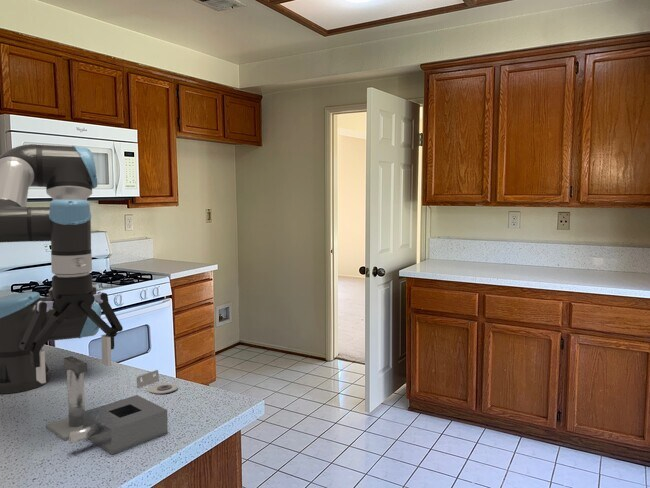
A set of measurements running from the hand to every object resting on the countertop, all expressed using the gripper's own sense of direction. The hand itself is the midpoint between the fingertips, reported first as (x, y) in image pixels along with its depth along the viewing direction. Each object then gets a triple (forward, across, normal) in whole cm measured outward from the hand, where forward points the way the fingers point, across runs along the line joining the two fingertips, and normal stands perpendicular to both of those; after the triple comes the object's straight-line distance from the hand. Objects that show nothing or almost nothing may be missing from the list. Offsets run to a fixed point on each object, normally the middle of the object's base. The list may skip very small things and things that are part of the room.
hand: (75, 372), depth 107 cm
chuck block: (+11, +2, -12) cm, 16 cm away
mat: (+12, 0, -1) cm, 12 cm away
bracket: (+13, +24, +6) cm, 28 cm away
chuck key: (+11, 0, -1) cm, 11 cm away
